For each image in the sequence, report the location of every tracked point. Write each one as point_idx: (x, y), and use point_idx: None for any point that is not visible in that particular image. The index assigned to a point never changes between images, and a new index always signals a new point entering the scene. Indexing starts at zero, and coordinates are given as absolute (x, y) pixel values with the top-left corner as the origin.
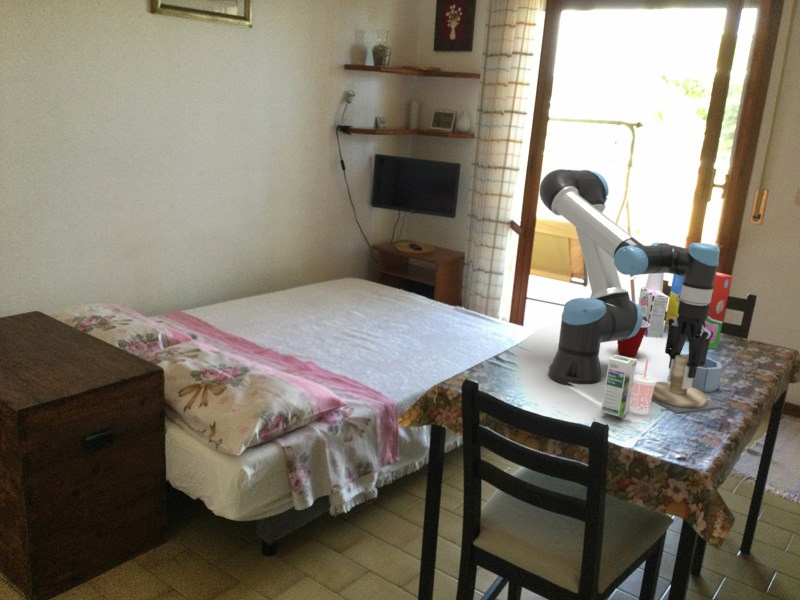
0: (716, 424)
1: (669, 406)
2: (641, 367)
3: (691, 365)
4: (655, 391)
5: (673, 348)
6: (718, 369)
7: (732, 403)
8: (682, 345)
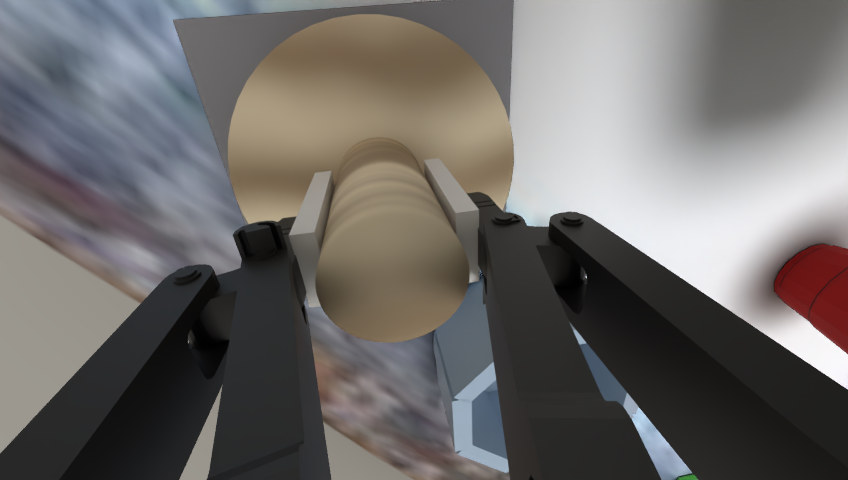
0: (58, 157)
1: (258, 34)
2: (699, 248)
3: (241, 249)
4: (398, 41)
5: (524, 261)
6: (453, 437)
7: (326, 358)
8: (496, 361)
